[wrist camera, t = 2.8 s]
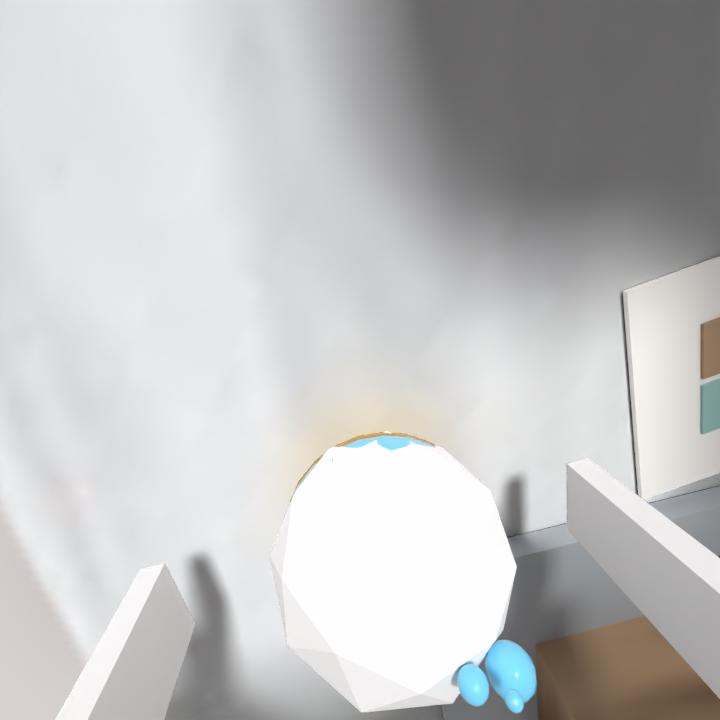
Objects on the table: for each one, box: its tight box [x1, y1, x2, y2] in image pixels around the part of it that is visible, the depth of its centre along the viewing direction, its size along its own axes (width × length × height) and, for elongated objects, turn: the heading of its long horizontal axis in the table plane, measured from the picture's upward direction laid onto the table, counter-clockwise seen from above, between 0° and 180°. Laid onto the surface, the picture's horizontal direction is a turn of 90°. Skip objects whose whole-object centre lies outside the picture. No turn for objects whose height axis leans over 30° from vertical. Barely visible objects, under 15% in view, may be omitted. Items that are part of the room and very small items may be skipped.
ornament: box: [270, 431, 537, 713], centre depth 10 cm, size 7×7×8 cm
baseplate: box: [441, 486, 720, 720], centre depth 18 cm, size 18×18×1 cm
